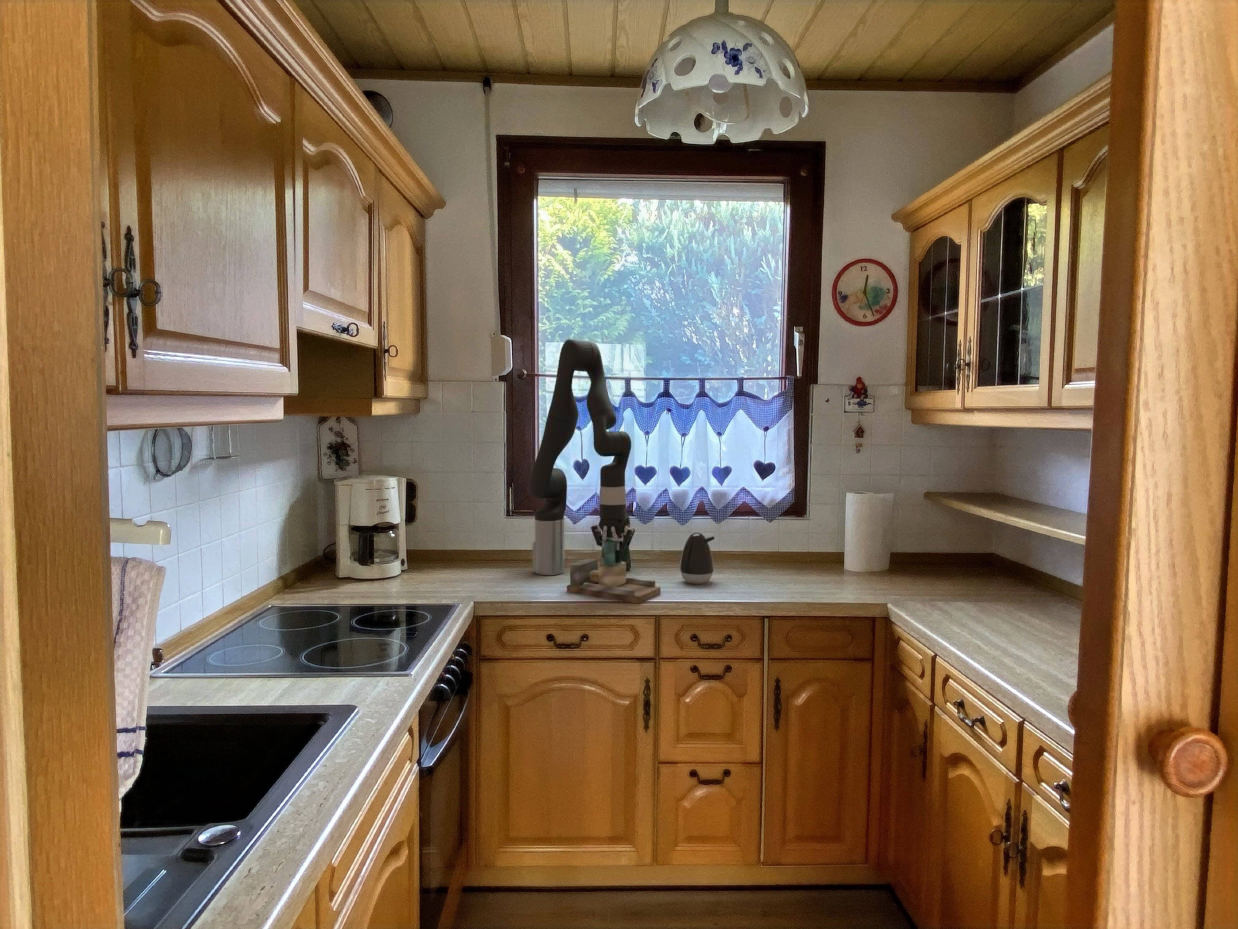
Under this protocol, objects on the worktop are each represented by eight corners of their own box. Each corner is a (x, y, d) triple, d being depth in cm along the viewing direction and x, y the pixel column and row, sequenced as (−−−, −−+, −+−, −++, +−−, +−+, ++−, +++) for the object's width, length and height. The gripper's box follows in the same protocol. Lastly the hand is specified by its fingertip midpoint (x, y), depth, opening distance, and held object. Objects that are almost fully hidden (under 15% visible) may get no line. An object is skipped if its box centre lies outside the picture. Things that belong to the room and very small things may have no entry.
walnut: (585, 584, 223) (585, 570, 222) (593, 581, 226) (593, 568, 226) (597, 586, 221) (597, 572, 220) (604, 583, 224) (604, 569, 224)
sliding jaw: (598, 588, 217) (598, 543, 216) (617, 581, 226) (617, 537, 224) (608, 590, 215) (607, 544, 214) (626, 582, 224) (626, 538, 223)
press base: (565, 592, 221) (565, 565, 220) (590, 583, 232) (590, 557, 232) (638, 604, 209) (638, 575, 208) (661, 593, 220) (661, 566, 219)
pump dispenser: (710, 587, 227) (710, 536, 226) (676, 584, 230) (676, 534, 229) (717, 579, 237) (717, 530, 235) (684, 577, 240) (684, 528, 239)
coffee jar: (624, 566, 256) (624, 510, 254) (633, 571, 249) (634, 513, 247) (597, 568, 252) (596, 512, 251) (606, 573, 245) (605, 515, 243)
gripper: (584, 501, 219) (584, 561, 220) (627, 505, 212) (627, 567, 213) (598, 498, 225) (598, 557, 227) (640, 502, 218) (640, 562, 219)
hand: (612, 561), depth 220 cm, fingers closed on sliding jaw, 3 cm apart
